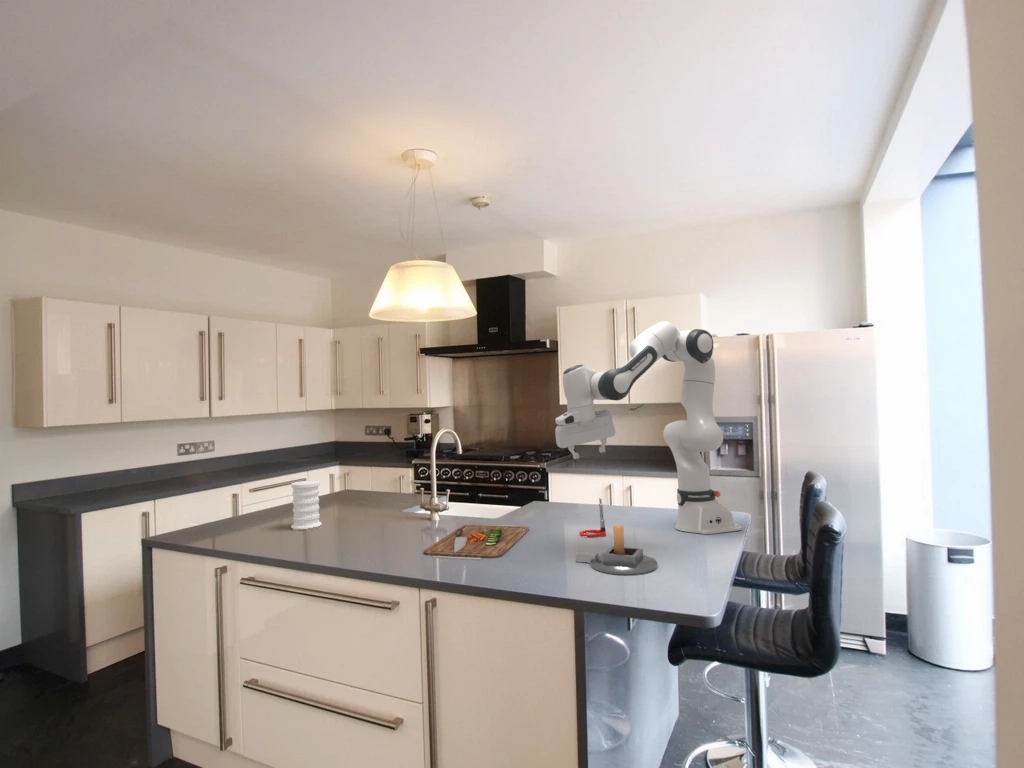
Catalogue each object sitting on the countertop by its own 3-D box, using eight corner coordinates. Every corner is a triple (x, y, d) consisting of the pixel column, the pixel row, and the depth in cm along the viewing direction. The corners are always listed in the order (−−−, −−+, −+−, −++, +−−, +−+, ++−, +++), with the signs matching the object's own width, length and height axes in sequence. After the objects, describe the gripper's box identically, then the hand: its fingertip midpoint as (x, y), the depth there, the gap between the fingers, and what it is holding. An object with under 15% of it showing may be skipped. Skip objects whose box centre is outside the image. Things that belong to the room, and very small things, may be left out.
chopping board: (497, 562, 176) (497, 552, 176) (416, 558, 183) (416, 549, 184) (532, 528, 220) (532, 520, 220) (466, 526, 227) (466, 518, 227)
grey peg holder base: (587, 552, 182) (587, 539, 182) (663, 559, 172) (662, 545, 172) (566, 569, 165) (566, 555, 165) (649, 578, 155) (649, 563, 155)
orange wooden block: (623, 559, 170) (621, 525, 170) (626, 562, 167) (624, 527, 167) (613, 560, 169) (611, 525, 170) (616, 563, 166) (614, 528, 167)
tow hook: (580, 539, 201) (607, 537, 201) (577, 502, 202) (603, 500, 201) (578, 533, 210) (604, 531, 209) (575, 497, 210) (601, 496, 210)
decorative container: (285, 529, 231) (284, 483, 231) (310, 523, 241) (309, 479, 241) (303, 532, 224) (301, 485, 225) (327, 526, 234) (326, 481, 234)
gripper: (606, 408, 197) (613, 447, 197) (550, 420, 191) (558, 461, 192) (614, 408, 191) (622, 449, 191) (557, 421, 185) (565, 463, 186)
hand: (589, 455), depth 191 cm, fingers open, 8 cm apart
